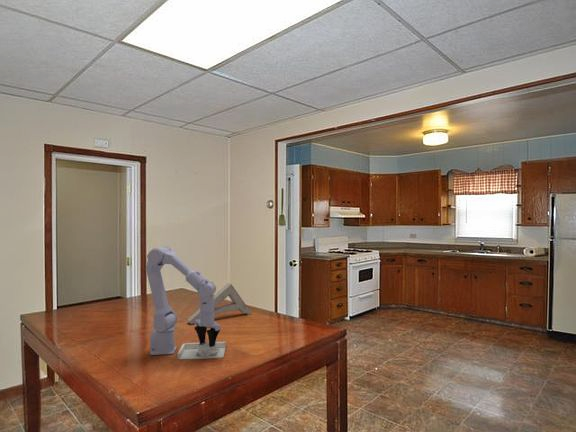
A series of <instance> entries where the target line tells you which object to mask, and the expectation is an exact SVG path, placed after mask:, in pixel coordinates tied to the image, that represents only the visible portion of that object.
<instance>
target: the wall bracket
mask: <svg viewBox="0 0 576 432" xmlns="http://www.w3.org/2000/svg"><path fill="white" fill-rule="evenodd" d="M213 295H214V317H215V316H217V315H220V314H223V313H227V312H233V311H234V312H237V311H239V312H240V313H242V314H245V315H248V316H250V315H251V314H252V311H251V310H250V309H249V307H248V306H247V303H245V301H244V300H243V298H242V297H241V296H240V294H239V293H238V291H237V289H235V287H234V286H233V284H232V283H229V282H228V283H227V284H225V285H224V286H222V288H221V289H220V290H218V291H217V292H215V293H214V294H213ZM228 297H229V299H230V301H231V303H228V304H224V305H221V306H219V305H220V304H221V303H222V302H224V301H225V299H227V298H228ZM197 319H200V308H199V309H197V310H196V311H195V312H194V313H192V315H191V316H189V317H188V318H187V319H186V321H187V322H188V323H189V324H191V325H192V324H195V320H197Z"/></svg>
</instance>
